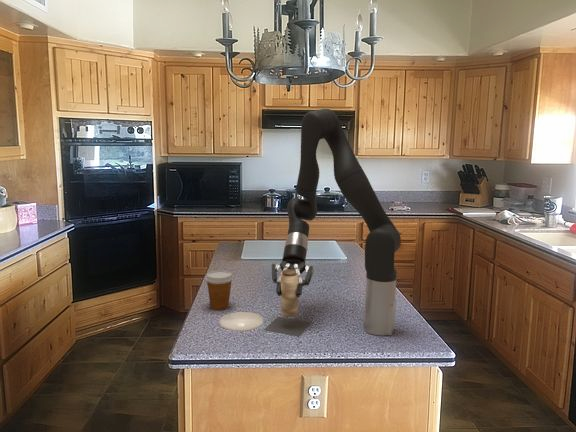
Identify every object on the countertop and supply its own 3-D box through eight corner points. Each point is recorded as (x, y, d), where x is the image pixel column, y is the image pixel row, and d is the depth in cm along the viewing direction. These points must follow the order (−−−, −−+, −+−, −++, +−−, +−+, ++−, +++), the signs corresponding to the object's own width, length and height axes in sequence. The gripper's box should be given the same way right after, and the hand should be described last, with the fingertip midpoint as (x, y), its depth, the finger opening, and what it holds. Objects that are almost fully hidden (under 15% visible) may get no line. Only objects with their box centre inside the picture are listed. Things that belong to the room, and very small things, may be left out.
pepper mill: (300, 311, 150) (300, 269, 148) (294, 317, 145) (294, 274, 143) (284, 309, 152) (284, 268, 150) (278, 315, 147) (277, 272, 145)
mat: (311, 323, 153) (311, 322, 153) (299, 338, 142) (299, 336, 142) (278, 318, 157) (278, 316, 157) (263, 331, 146) (263, 330, 146)
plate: (270, 319, 156) (270, 315, 156) (251, 335, 143) (251, 331, 143) (232, 312, 161) (232, 309, 161) (211, 327, 148) (211, 324, 148)
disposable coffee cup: (203, 303, 169) (203, 271, 167) (229, 300, 173) (229, 269, 171) (209, 313, 160) (208, 279, 158) (236, 309, 164) (236, 276, 162)
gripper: (272, 242, 154) (263, 288, 144) (315, 244, 151) (309, 291, 141) (276, 253, 160) (268, 299, 150) (318, 256, 157) (312, 302, 147)
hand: (288, 295), depth 146 cm, fingers closed on pepper mill, 5 cm apart
